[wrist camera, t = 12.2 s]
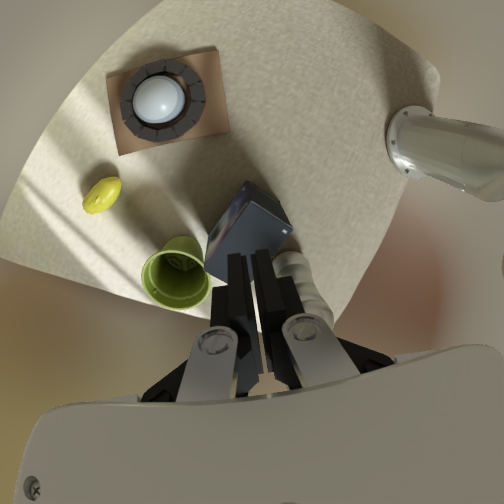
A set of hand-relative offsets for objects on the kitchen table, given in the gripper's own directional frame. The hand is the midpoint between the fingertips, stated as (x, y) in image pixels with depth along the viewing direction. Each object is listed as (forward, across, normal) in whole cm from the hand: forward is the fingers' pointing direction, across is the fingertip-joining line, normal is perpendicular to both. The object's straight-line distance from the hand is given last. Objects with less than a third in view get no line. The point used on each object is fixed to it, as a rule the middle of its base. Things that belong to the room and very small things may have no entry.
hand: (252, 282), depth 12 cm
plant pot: (+29, +10, +12) cm, 33 cm away
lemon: (+29, +20, 0) cm, 36 cm away
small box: (+29, 0, +8) cm, 30 cm away
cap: (+28, +8, -11) cm, 31 cm away
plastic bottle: (+29, -6, +17) cm, 34 cm away
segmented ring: (+29, +8, -11) cm, 32 cm away
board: (+29, +8, -11) cm, 32 cm away
